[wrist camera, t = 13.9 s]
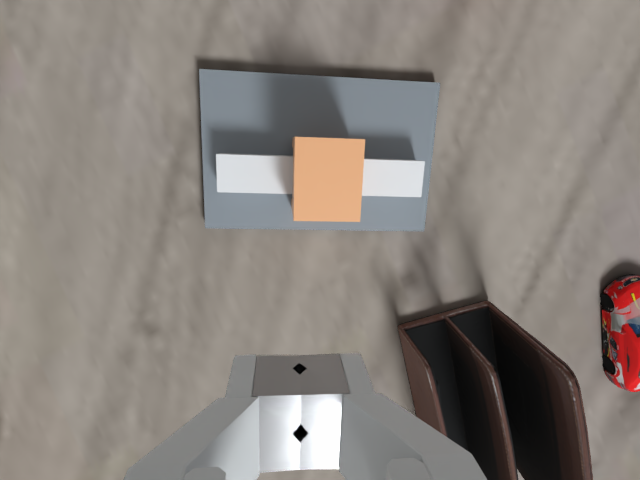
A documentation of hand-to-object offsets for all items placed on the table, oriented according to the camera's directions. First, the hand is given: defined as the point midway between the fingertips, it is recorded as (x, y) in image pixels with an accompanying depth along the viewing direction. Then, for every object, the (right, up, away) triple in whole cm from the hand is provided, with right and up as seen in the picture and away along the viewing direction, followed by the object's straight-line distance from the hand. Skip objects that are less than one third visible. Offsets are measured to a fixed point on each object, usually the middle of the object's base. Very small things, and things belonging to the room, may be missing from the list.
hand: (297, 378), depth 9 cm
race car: (+34, -6, +33) cm, 48 cm away
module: (+1, +9, +24) cm, 26 cm away
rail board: (0, +11, +25) cm, 27 cm away
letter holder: (+15, -13, +33) cm, 39 cm away
